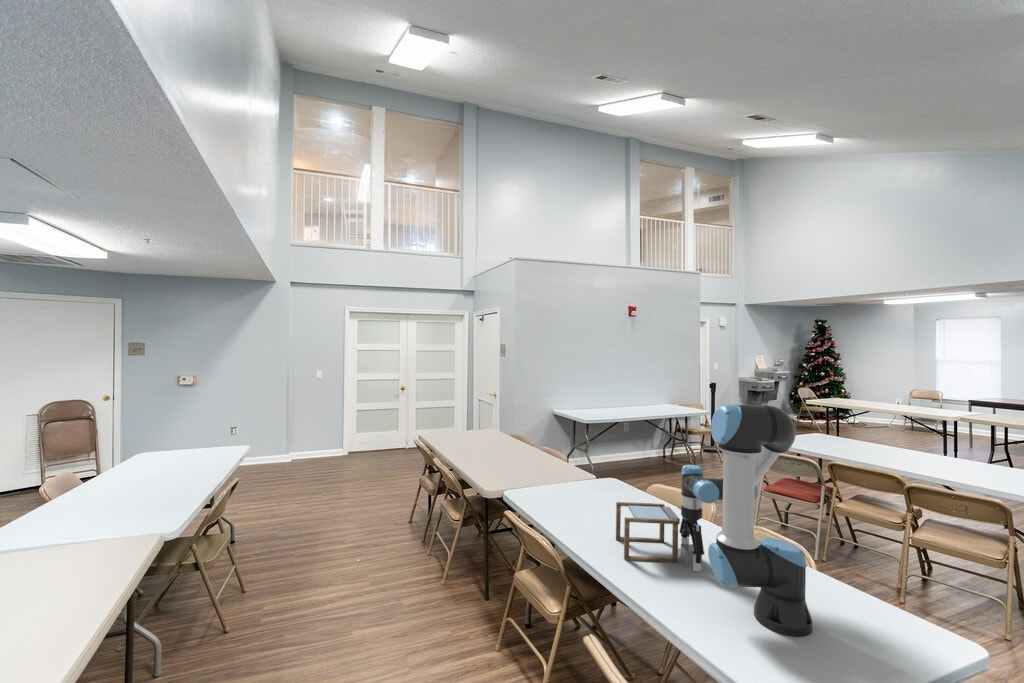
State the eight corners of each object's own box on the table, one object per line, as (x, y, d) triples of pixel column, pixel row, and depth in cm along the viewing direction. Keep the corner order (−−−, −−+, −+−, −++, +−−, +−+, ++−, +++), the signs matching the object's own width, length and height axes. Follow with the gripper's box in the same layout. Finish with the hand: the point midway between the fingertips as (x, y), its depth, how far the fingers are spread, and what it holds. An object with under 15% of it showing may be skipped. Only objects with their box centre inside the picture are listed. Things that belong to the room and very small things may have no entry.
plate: (680, 525, 176) (680, 519, 176) (636, 523, 177) (636, 518, 177) (668, 510, 192) (668, 506, 192) (628, 509, 193) (628, 504, 193)
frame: (677, 562, 174) (678, 521, 174) (624, 560, 175) (625, 518, 175) (663, 540, 194) (663, 503, 194) (615, 538, 195) (616, 501, 195)
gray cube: (701, 567, 170) (702, 551, 171) (685, 566, 171) (685, 550, 171) (696, 560, 176) (696, 544, 177) (680, 559, 177) (680, 543, 177)
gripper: (714, 518, 162) (713, 579, 161) (690, 496, 186) (689, 548, 186) (692, 518, 162) (691, 578, 161) (672, 495, 187) (671, 547, 186)
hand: (690, 562), depth 174 cm, fingers open, 13 cm apart
